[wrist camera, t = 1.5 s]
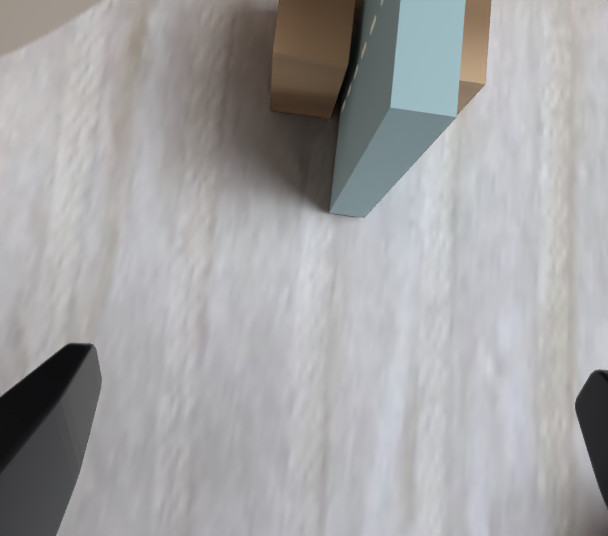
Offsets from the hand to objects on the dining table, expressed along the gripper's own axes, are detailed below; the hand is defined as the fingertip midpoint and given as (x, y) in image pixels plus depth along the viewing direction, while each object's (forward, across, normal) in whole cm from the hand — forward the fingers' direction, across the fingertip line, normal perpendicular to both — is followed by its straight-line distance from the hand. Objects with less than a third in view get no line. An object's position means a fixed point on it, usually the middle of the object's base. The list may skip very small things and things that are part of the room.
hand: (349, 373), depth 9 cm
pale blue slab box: (+16, -2, +2) cm, 17 cm away
